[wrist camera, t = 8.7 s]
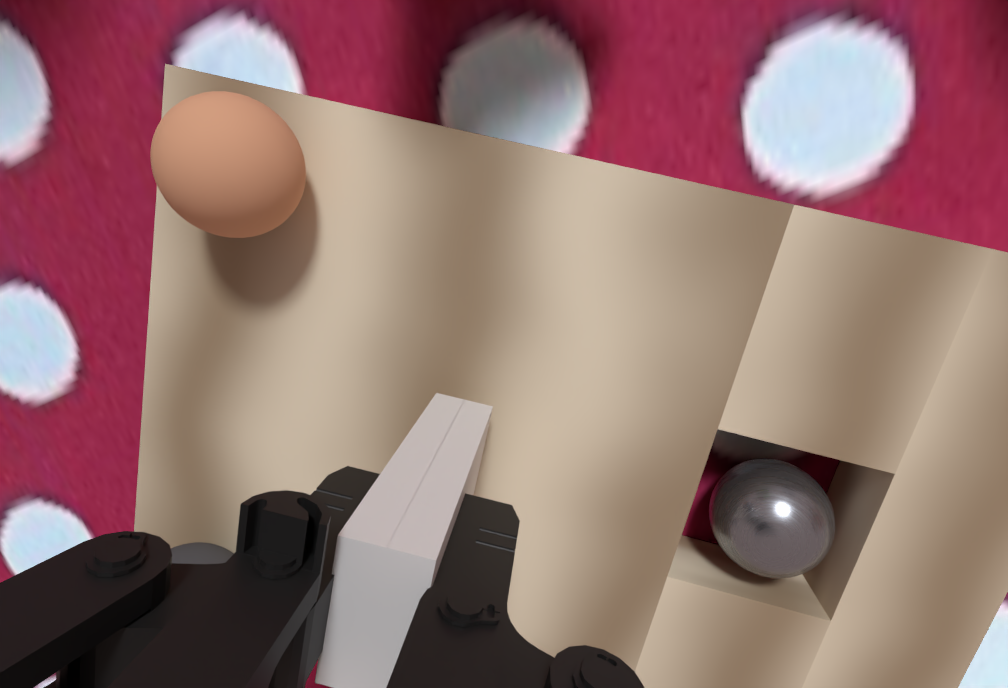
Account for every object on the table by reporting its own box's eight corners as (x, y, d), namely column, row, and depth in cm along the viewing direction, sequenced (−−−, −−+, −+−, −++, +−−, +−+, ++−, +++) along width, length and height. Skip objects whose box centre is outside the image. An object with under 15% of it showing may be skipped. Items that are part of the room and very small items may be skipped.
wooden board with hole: (181, 551, 21) (129, 595, 18) (224, 84, 17) (165, 64, 15) (850, 742, 19) (889, 818, 17) (1073, 275, 15) (1165, 287, 13)
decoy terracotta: (204, 219, 15) (109, 222, 12) (215, 92, 15) (117, 61, 11) (319, 247, 15) (252, 257, 12) (336, 119, 14) (270, 95, 11)
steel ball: (818, 623, 15) (803, 560, 18) (865, 512, 14) (842, 467, 17) (690, 570, 16) (697, 519, 19) (728, 464, 15) (729, 429, 18)
